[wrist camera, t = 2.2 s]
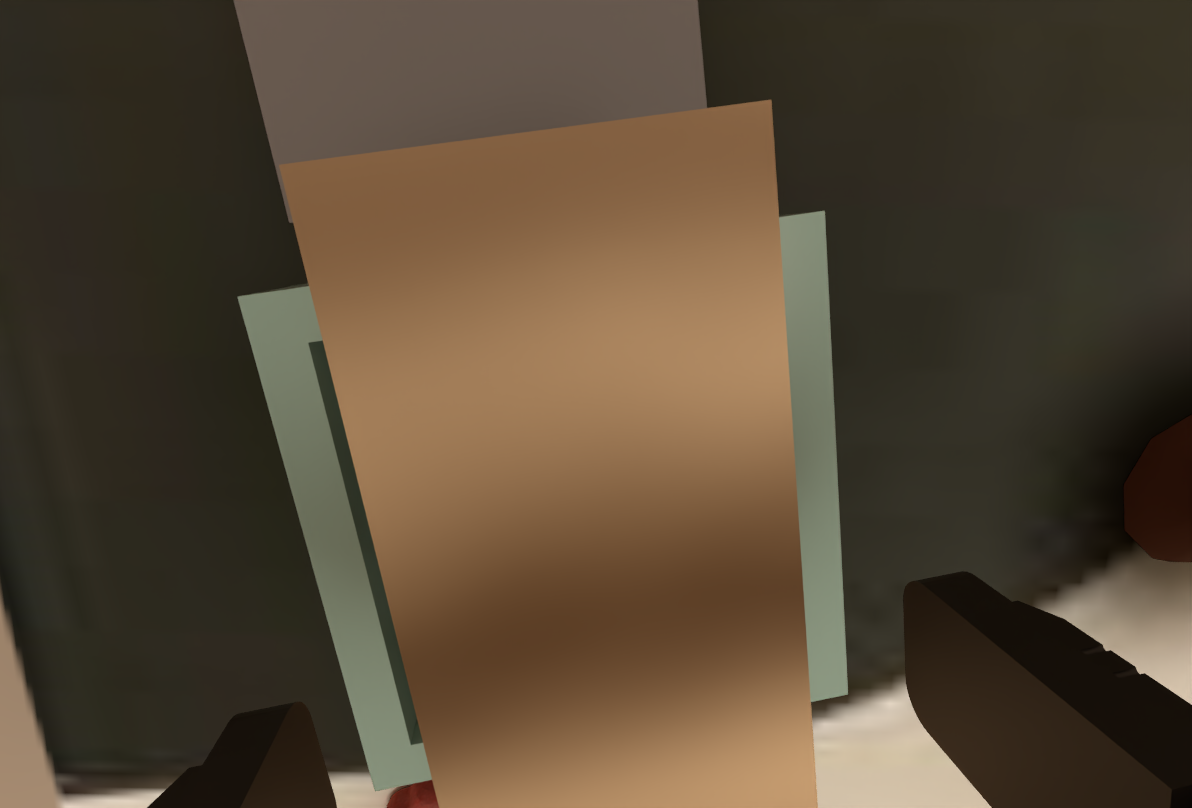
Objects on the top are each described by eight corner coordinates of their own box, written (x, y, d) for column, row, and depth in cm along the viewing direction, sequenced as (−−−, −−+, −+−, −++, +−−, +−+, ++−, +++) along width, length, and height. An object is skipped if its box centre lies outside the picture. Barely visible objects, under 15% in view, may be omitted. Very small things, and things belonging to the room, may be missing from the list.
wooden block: (359, 190, 12) (278, 165, 8) (690, 145, 12) (771, 99, 8) (498, 821, 15) (492, 1020, 11) (749, 768, 16) (826, 942, 12)
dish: (330, 278, 18) (237, 296, 12) (728, 220, 18) (824, 210, 13) (415, 634, 20) (375, 791, 15) (757, 570, 21) (848, 694, 15)
